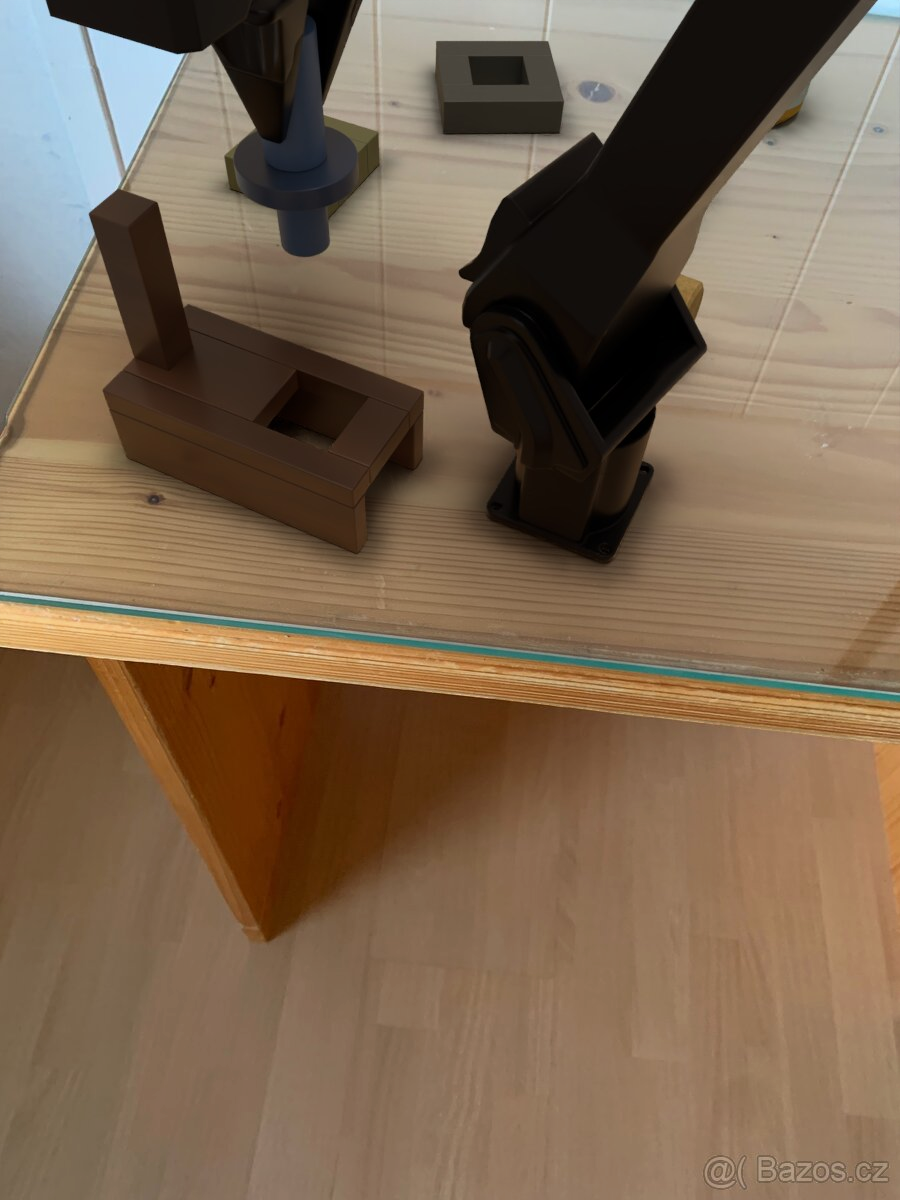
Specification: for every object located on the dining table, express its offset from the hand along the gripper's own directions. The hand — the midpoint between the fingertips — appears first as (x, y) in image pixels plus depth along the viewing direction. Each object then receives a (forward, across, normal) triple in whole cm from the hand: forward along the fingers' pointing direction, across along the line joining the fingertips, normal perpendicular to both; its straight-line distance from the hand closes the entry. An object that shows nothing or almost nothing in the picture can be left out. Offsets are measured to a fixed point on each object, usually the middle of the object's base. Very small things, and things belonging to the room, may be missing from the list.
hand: (292, 122), depth 41 cm
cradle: (+12, -13, -9) cm, 20 cm away
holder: (+12, -28, -2) cm, 30 cm away
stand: (+12, +8, +2) cm, 15 cm away
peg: (+6, 0, 0) cm, 6 cm away
